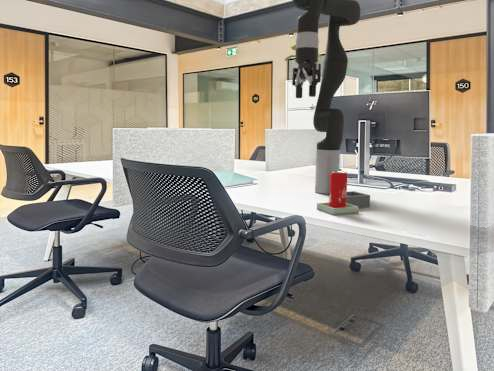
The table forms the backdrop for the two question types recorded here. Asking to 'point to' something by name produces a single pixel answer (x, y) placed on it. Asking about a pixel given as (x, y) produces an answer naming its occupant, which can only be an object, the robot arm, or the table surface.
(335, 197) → the beverage can
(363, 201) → the dark grey open box
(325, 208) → the tray
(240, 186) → the table surface
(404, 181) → the table surface
